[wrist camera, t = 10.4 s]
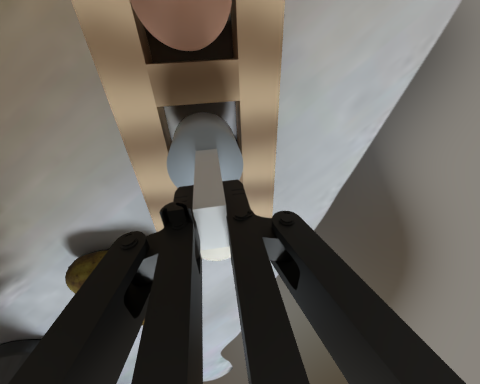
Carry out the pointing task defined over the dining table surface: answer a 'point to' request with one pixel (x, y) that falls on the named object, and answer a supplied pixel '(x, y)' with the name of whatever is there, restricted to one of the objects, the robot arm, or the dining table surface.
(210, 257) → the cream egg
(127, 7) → the wooden egg rack
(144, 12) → the pink egg
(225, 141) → the slate egg
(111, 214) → the dining table surface
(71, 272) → the potato
